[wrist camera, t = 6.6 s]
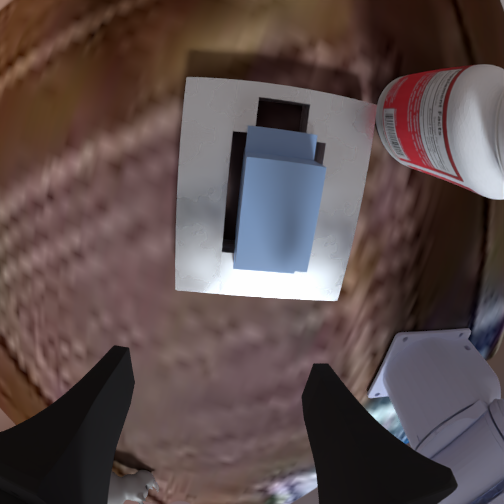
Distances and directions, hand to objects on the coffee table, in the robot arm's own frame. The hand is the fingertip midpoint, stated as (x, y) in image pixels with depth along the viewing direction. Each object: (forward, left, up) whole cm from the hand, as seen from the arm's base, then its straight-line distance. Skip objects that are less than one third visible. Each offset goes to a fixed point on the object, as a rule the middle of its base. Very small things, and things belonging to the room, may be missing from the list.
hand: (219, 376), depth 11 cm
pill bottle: (-11, -11, -10) cm, 18 cm away
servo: (-2, -5, -9) cm, 11 cm away
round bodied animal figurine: (+13, +32, -10) cm, 36 cm away
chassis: (-2, -5, -9) cm, 11 cm away
